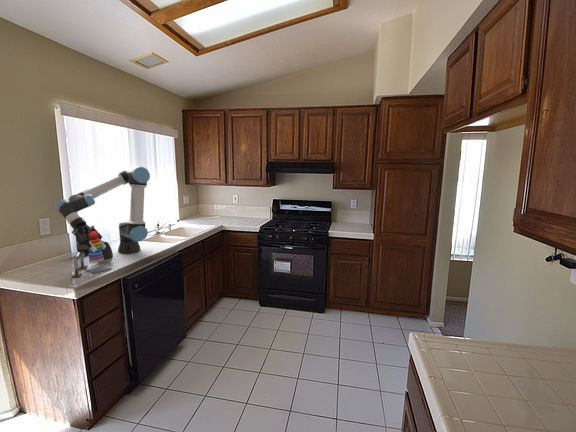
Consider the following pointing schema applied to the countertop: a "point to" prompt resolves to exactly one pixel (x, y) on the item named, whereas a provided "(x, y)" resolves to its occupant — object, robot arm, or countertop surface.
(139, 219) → the robot arm
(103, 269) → the mat
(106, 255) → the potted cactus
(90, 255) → the stacking toy
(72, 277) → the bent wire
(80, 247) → the canister
